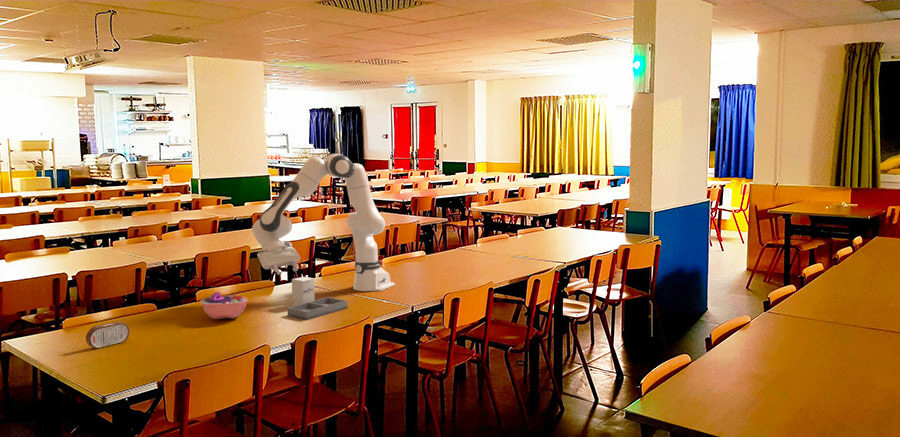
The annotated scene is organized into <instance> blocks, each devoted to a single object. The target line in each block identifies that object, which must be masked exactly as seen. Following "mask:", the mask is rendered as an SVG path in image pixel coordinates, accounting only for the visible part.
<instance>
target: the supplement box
mask: <svg viewBox="0 0 900 437" xmlns="http://www.w3.org/2000/svg"><path fill="white" fill-rule="evenodd" d="M291 299H292V300H291V301H292V304H291V305H292V306H296V305H300V304H304V303H308V302H311V301H315V300H316V299H315V278H313V277H307V276H302V277H297V278H291ZM292 306H291V307H292Z"/></svg>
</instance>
